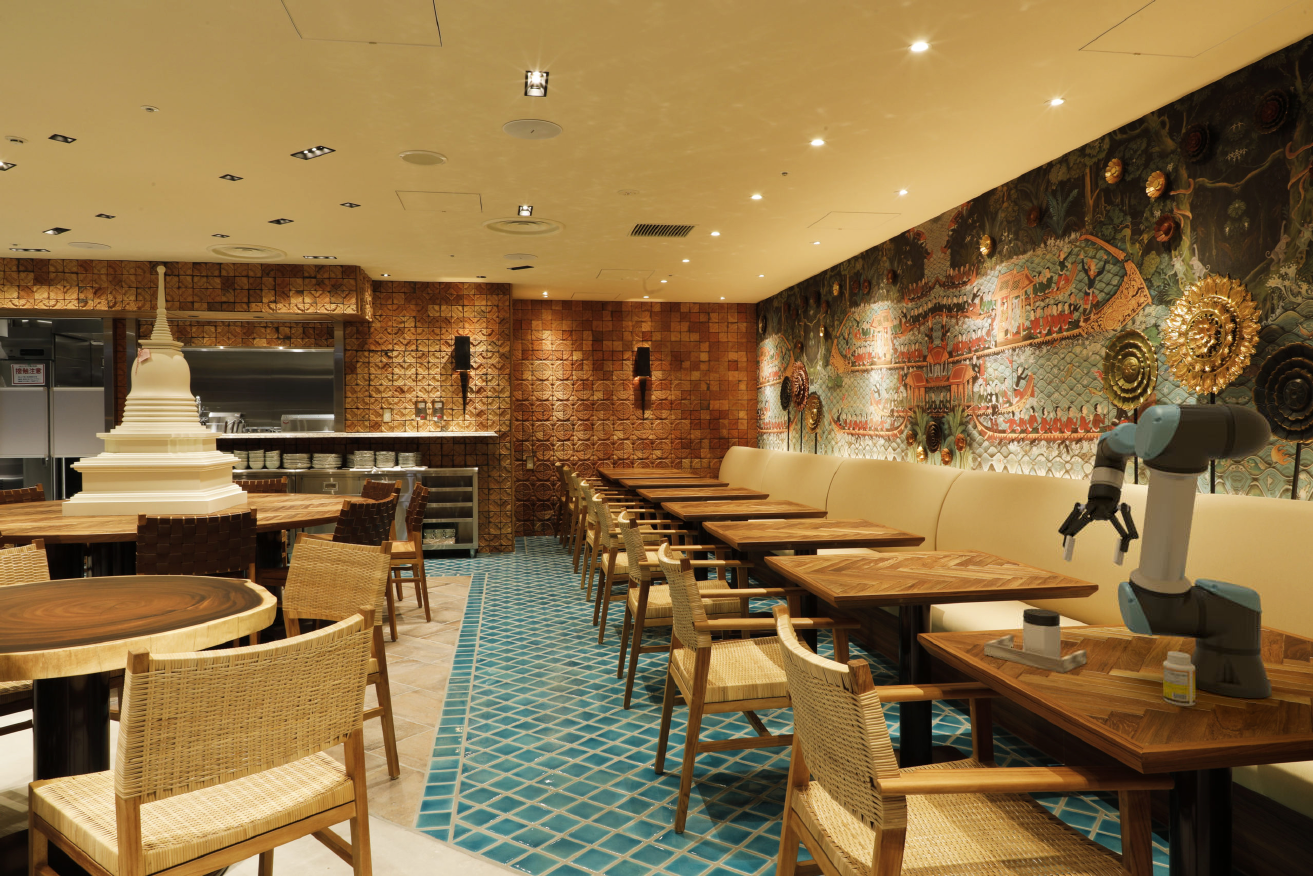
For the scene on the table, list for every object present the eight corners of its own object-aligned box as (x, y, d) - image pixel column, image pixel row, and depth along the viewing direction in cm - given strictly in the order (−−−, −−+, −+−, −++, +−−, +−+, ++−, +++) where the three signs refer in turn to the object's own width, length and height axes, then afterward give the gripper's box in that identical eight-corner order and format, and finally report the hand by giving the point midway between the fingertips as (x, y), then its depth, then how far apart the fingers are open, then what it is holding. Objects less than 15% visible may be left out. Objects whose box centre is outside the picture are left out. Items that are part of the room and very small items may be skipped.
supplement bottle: (1180, 697, 159) (1180, 649, 159) (1202, 707, 153) (1202, 657, 153) (1156, 698, 158) (1156, 650, 158) (1177, 707, 153) (1177, 658, 153)
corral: (1009, 646, 198) (1009, 634, 198) (1086, 662, 184) (1086, 650, 184) (984, 655, 190) (984, 643, 190) (1062, 673, 175) (1062, 660, 175)
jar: (1021, 653, 191) (1021, 607, 191) (1056, 657, 188) (1056, 609, 188) (1025, 663, 183) (1025, 614, 183) (1062, 667, 180) (1062, 617, 180)
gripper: (1162, 492, 192) (1149, 570, 186) (1069, 492, 214) (1055, 563, 208) (1146, 481, 189) (1132, 560, 183) (1054, 482, 210) (1039, 553, 205)
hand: (1091, 562), depth 196 cm, fingers open, 13 cm apart
